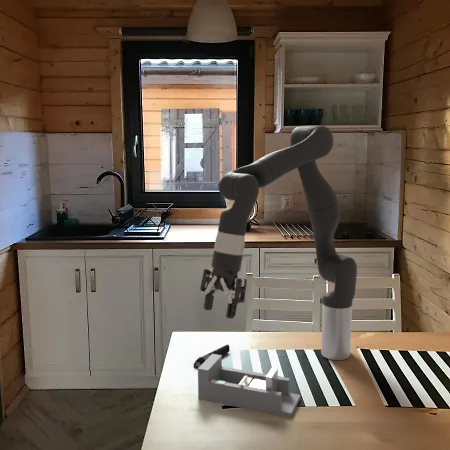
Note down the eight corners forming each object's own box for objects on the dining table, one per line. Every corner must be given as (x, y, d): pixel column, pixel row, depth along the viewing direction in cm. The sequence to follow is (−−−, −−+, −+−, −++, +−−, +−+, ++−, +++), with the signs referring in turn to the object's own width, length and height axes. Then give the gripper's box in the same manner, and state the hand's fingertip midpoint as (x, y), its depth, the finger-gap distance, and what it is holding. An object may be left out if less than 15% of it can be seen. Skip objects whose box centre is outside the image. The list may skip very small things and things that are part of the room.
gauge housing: (212, 382, 156) (212, 353, 154) (300, 399, 146) (301, 368, 145) (198, 399, 147) (197, 368, 145) (291, 417, 137) (291, 385, 136)
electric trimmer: (232, 354, 176) (232, 345, 175) (201, 371, 164) (201, 361, 163) (223, 351, 178) (223, 342, 177) (192, 367, 166) (192, 358, 166)
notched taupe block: (254, 389, 149) (254, 364, 147) (277, 394, 146) (277, 367, 145) (247, 400, 143) (247, 373, 142) (271, 404, 141) (271, 377, 139)
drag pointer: (245, 388, 150) (246, 370, 149) (252, 389, 149) (252, 371, 148) (235, 402, 142) (235, 383, 141) (242, 403, 141) (243, 385, 140)
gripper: (258, 256, 134) (248, 320, 134) (220, 247, 144) (211, 306, 145) (237, 255, 129) (226, 321, 129) (199, 245, 139) (189, 307, 139)
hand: (218, 313), depth 137 cm, fingers open, 8 cm apart
